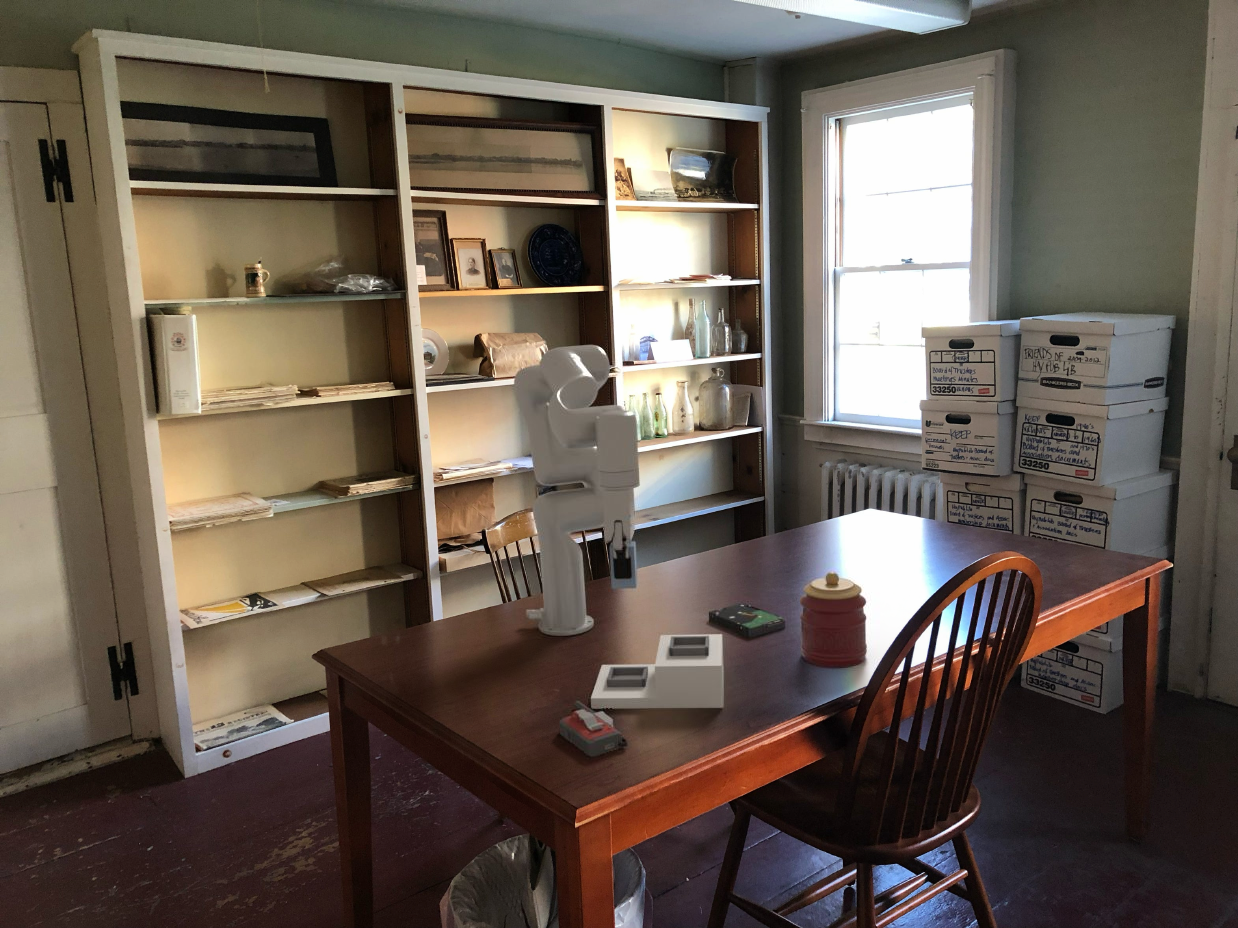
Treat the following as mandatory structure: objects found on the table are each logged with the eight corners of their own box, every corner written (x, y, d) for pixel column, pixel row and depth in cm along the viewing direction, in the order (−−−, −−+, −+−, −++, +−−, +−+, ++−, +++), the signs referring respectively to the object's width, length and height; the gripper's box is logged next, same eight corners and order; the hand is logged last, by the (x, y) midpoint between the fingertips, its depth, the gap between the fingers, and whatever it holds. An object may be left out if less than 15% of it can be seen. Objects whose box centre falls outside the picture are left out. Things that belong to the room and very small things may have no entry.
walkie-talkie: (639, 748, 161) (581, 707, 178) (638, 723, 160) (580, 685, 177) (593, 763, 156) (538, 720, 173) (592, 737, 156) (537, 697, 173)
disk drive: (707, 623, 219) (750, 640, 207) (707, 611, 219) (750, 627, 207) (742, 613, 225) (786, 629, 212) (742, 602, 224) (786, 616, 212)
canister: (788, 651, 198) (786, 569, 195) (843, 640, 202) (841, 559, 199) (823, 673, 186) (821, 585, 183) (880, 661, 190) (879, 575, 187)
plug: (611, 588, 178) (609, 546, 177) (613, 582, 182) (611, 541, 180) (636, 588, 178) (633, 546, 176) (637, 582, 181) (635, 541, 180)
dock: (591, 708, 176) (588, 659, 175) (602, 674, 192) (599, 628, 190) (723, 707, 173) (721, 657, 172) (723, 672, 189) (721, 626, 187)
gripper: (603, 470, 185) (609, 562, 188) (592, 488, 168) (598, 589, 172) (642, 469, 184) (647, 561, 187) (635, 487, 168) (640, 588, 171)
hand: (624, 573), depth 179 cm, fingers closed on plug, 3 cm apart
